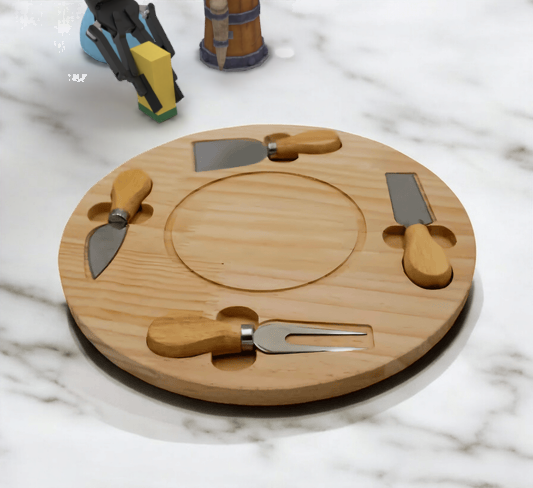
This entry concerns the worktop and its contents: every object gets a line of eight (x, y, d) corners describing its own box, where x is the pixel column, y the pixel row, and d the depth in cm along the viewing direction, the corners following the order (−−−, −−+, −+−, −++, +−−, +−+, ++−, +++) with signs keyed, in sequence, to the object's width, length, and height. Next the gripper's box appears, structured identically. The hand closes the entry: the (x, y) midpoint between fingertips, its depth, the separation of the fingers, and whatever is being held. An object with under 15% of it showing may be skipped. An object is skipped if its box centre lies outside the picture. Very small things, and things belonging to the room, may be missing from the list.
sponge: (138, 109, 119) (129, 48, 110) (157, 100, 121) (148, 40, 112) (159, 123, 115) (151, 61, 107) (177, 114, 117) (170, 53, 109)
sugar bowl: (107, 26, 142) (97, -27, 134) (168, 39, 138) (162, -15, 130) (68, 58, 132) (55, 3, 124) (133, 72, 128) (124, 16, 120)
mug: (257, 88, 124) (257, -16, 110) (184, 81, 126) (174, -22, 112) (274, 40, 138) (275, -58, 124) (207, 34, 140) (201, -63, 126)
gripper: (133, -21, 118) (198, 94, 121) (50, 7, 110) (122, 131, 113) (147, -43, 112) (215, 80, 115) (60, -14, 103) (136, 117, 106)
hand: (169, 105), depth 114 cm, fingers closed on sponge, 4 cm apart
